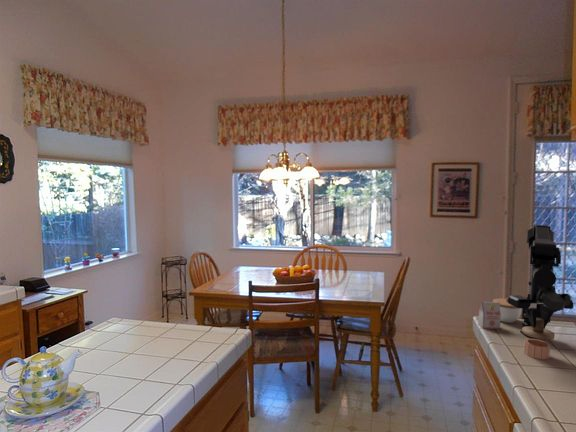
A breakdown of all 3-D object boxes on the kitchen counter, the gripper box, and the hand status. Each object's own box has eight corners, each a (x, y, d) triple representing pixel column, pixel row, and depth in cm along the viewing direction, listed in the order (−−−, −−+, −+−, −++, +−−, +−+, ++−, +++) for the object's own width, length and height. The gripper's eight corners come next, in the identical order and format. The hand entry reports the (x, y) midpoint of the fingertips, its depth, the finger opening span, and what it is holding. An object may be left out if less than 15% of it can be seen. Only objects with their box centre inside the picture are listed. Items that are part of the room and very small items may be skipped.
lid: (541, 329, 132) (542, 314, 132) (561, 339, 123) (562, 324, 123) (516, 329, 132) (517, 314, 132) (533, 339, 123) (534, 324, 123)
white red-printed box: (478, 324, 155) (479, 300, 155) (495, 325, 155) (496, 301, 154) (482, 328, 152) (484, 303, 151) (499, 328, 152) (501, 303, 151)
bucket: (539, 350, 132) (540, 338, 132) (554, 359, 125) (555, 347, 125) (519, 350, 132) (520, 338, 131) (533, 359, 125) (534, 347, 124)
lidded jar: (525, 325, 156) (526, 302, 155) (496, 323, 158) (497, 300, 157) (515, 317, 166) (516, 295, 166) (488, 314, 168) (489, 293, 168)
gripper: (530, 287, 118) (527, 336, 119) (589, 287, 119) (585, 337, 120) (508, 278, 129) (505, 323, 130) (562, 278, 130) (558, 324, 131)
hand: (538, 327), depth 128 cm, fingers closed on lid, 3 cm apart
